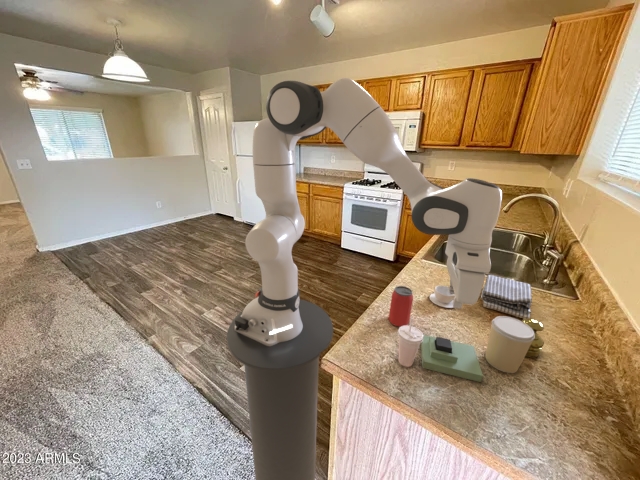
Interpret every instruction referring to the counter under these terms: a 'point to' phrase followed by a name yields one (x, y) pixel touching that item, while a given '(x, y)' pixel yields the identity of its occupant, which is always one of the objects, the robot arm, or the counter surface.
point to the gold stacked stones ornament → (538, 341)
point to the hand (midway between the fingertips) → (454, 299)
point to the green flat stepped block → (451, 359)
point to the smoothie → (408, 343)
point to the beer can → (401, 306)
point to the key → (443, 344)
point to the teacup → (442, 297)
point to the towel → (507, 296)
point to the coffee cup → (508, 343)
